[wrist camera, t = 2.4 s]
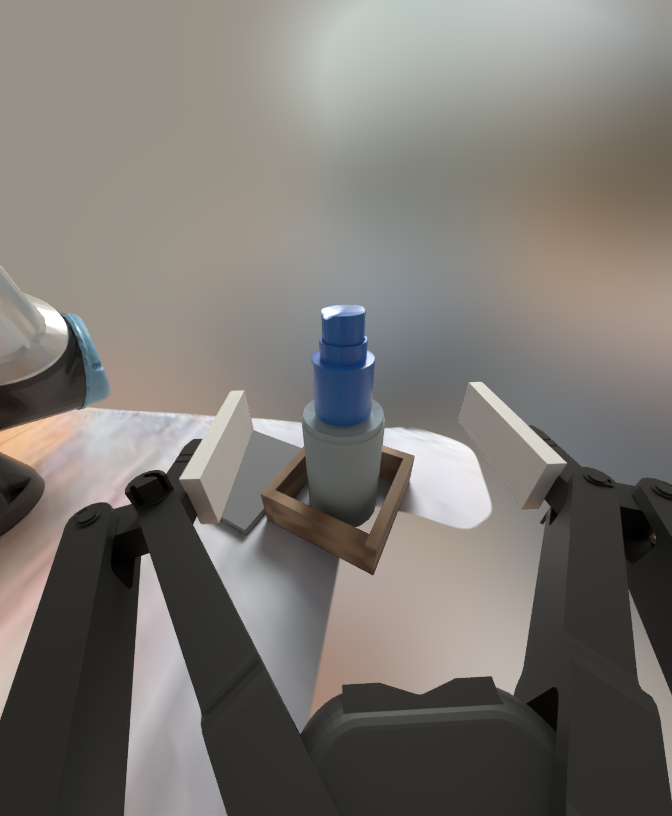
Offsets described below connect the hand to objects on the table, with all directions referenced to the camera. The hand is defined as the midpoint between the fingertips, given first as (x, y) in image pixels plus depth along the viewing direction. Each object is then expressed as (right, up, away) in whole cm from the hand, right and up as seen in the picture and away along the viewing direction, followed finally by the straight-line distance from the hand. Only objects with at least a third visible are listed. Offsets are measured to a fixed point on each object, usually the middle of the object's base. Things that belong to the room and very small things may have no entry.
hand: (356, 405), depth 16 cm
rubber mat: (-14, -10, +24) cm, 30 cm away
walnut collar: (0, -13, +20) cm, 24 cm away
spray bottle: (0, -13, +21) cm, 24 cm away
